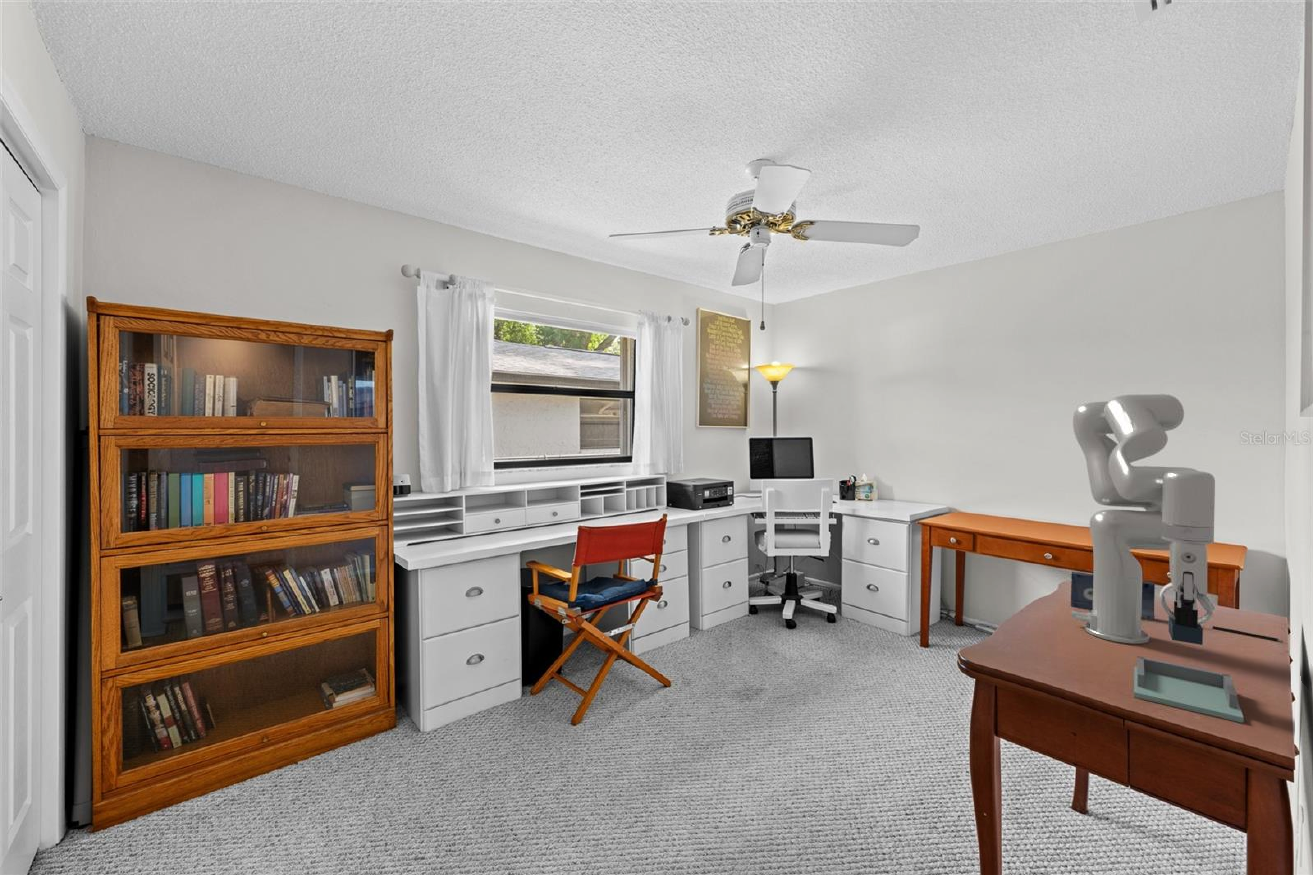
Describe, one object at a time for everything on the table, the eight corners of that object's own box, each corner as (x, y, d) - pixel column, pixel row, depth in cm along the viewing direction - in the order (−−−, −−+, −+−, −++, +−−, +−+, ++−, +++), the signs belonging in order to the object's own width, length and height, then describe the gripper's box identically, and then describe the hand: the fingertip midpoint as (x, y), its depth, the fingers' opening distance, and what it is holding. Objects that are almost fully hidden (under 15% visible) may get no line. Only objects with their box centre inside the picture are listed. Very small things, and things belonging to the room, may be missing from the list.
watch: (1216, 647, 108) (1218, 590, 107) (1160, 638, 112) (1161, 583, 112) (1210, 637, 112) (1212, 583, 112) (1156, 629, 117) (1158, 576, 116)
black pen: (1282, 643, 138) (1283, 639, 138) (1282, 644, 137) (1282, 640, 137) (1212, 629, 147) (1213, 625, 147) (1212, 630, 146) (1212, 626, 146)
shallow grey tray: (1134, 697, 111) (1134, 679, 111) (1134, 670, 122) (1134, 654, 122) (1243, 723, 101) (1244, 704, 101) (1232, 692, 113) (1233, 674, 113)
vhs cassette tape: (1154, 618, 154) (1155, 582, 154) (1154, 621, 152) (1155, 584, 152) (1071, 604, 166) (1071, 570, 166) (1070, 606, 164) (1070, 573, 164)
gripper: (1218, 542, 103) (1216, 642, 103) (1209, 529, 116) (1207, 618, 116) (1163, 537, 108) (1161, 633, 108) (1160, 525, 120) (1158, 610, 121)
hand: (1185, 624), depth 112 cm, fingers closed on watch, 3 cm apart
